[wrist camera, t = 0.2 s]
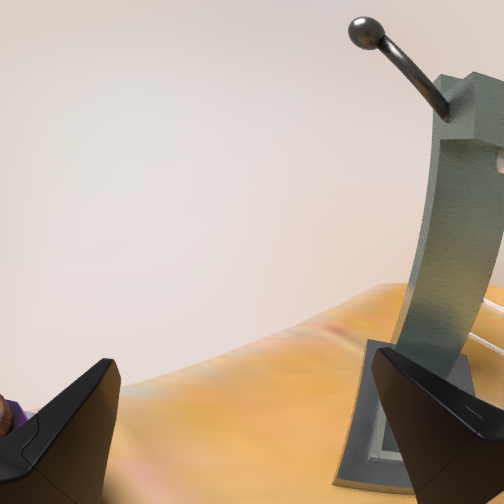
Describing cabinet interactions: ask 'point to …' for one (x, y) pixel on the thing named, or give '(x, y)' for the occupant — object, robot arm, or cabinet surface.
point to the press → (435, 255)
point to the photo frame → (484, 342)
